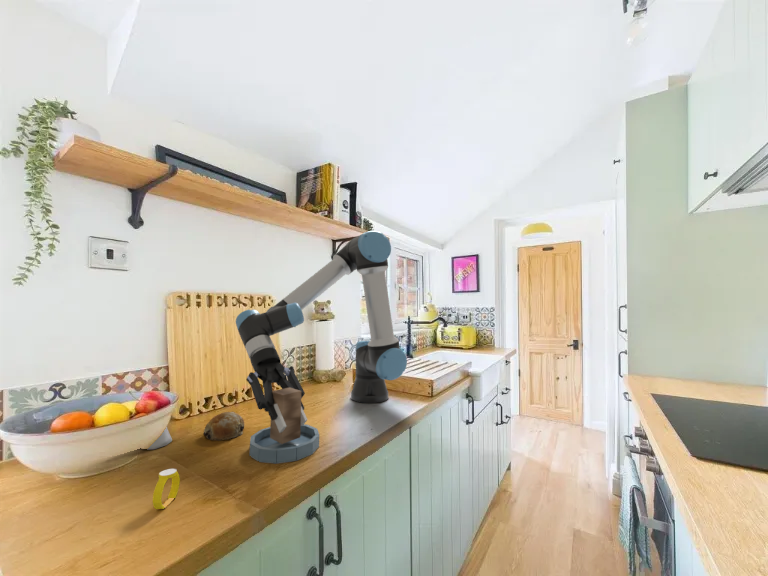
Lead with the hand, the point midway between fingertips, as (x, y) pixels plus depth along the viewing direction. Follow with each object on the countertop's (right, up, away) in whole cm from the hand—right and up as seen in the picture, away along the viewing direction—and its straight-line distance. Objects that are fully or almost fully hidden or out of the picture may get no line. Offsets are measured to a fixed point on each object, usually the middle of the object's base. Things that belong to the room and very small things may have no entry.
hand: (293, 426), depth 82 cm
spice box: (-3, -4, +2) cm, 5 cm away
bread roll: (-23, -7, +10) cm, 26 cm away
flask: (-38, -6, +3) cm, 38 cm away
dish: (-3, -6, +2) cm, 7 cm away
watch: (-17, -5, -22) cm, 29 cm away
